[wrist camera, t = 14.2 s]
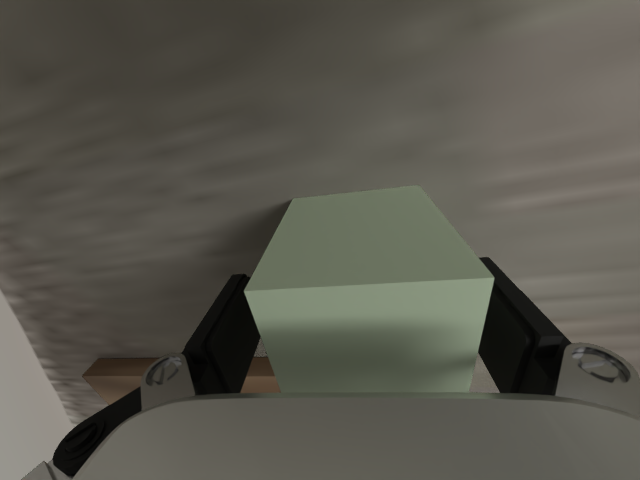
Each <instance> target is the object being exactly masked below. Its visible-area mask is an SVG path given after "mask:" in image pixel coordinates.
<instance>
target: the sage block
mask: <svg viewBox="0 0 640 480" xmlns="http://www.w3.org/2000/svg"><path fill="white" fill-rule="evenodd" d="M494 278H495V277H494V276H493V275H492V274H491V272H490V271H489V270H488V269H487V268H486V266H485V265H484V264H483V263H482V261H481V260H480V259H479V258H478V257H477V255H476V254H475V253H474V252H473V250H472V249H471V248H470V247H469V246H468V244H467V243H466V242H465V241H464V239H463V238H462V237H461V236H460V235H459V233H458V232H457V231H456V230H455V228H454V227H453V226H452V225H451V224H450V222H449V221H448V220H447V219H446V217H445V216H444V215H443V214H442V213H441V211H440V210H439V209H438V208H437V206H436V205H435V204H434V203H433V202H432V200H431V199H430V198H429V197H428V195H427V194H426V193H425V192H424V191H423V189H422V188H421V187H420V186H419V185H414V186H405V187H396V188H387V189H377V190H368V191H359V192H350V193H341V194H331V195H322V196H313V197H304V198H295V199H293V200H292V202H291V203H290V205H289V207H288V209H287V211H286V213H285V215H284V217H283V218H282V220H281V222H280V224H279V226H278V228H277V230H276V232H275V233H274V235H273V237H272V239H271V241H270V243H269V245H268V247H267V249H266V250H265V252H264V254H263V256H262V258H261V260H260V262H259V264H258V265H257V267H256V269H255V271H254V273H253V275H252V277H251V279H250V280H249V282H248V284H247V286H246V288H245V290H244V293H245V296H246V298H247V301H248V304H249V307H250V309H251V312H252V315H253V317H254V320H255V323H256V326H257V328H258V331H259V334H260V336H261V339H262V342H263V345H264V347H265V350H266V353H267V355H268V358H269V361H270V364H271V366H272V369H273V372H274V374H275V377H276V380H277V383H278V385H279V388H280V391H281V393H299V392H469V389H470V385H471V380H472V376H473V371H474V367H475V362H476V358H477V354H478V349H479V345H480V340H481V336H482V331H483V327H484V323H485V318H486V314H487V309H488V305H489V300H490V296H491V292H492V287H493V283H494Z"/></svg>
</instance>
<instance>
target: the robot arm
mask: <svg viewBox="0 0 640 480" xmlns="http://www.w3.org/2000/svg"><path fill="white" fill-rule="evenodd" d="M479 259H480V260H481V261H482V263H483V264H484V265H485V266H486V268H487V269H488V270H489V271H490V272H491V274H492V275H493V276H494V277H495V278H494V283H493V287H492V292H491V296H490V300H489V305H488V309H487V314H486V318H485V323H484V327H483V331H482V336H481V340H480V345H479V349H478V353H479V355H480V356H481V358H482V360H483V362H484V364H485V366H486V367H487V369H488V371H489V373H490V375H491V377H492V378H493V380H494V382H495V384H496V386H497V388H498V389H499V391H500V393H473V392H299V393H240V392H241V390H242V387H243V384H244V381H245V379H246V376H247V373H248V370H249V367H250V365H251V362H252V359H253V356H254V353H255V351H256V348H257V345H258V342H259V340H260V337H261V336H260V334H259V331H258V328H257V326H256V323H255V320H254V317H253V315H252V312H251V309H250V307H249V304H248V301H247V298H246V296H245V293H244V290H245V288H246V286H247V284H248V282H249V280H250V279H251V278H250V277H247V275H246V274H237V275H232V276H231V277H230V279H229V280H228V282H227V283H226V285H225V286H224V288H223V289H222V291H221V292H220V294H219V295H218V297H217V298H216V300H215V302H214V303H213V305H212V306H211V308H210V309H209V311H208V312H207V314H206V315H205V317H204V318H203V320H202V321H201V323H200V324H199V326H198V327H197V329H196V330H195V332H194V333H193V335H192V337H191V338H190V340H189V341H188V343H187V344H186V346H185V349H184V350H183V352H182V353H171V354H168V355H165V356H163V357H161V358H159V359H158V360H156V361H155V362H154V363H152V364H151V365H150V366H149V367H148V368H147V370H146V371H145V372H144V374H143V376H142V378H141V383H140V385H141V386H140V387H138V388H137V389H135V390H133V391H132V392H130V393H128V394H127V395H125V396H124V397H122V398H120V399H119V400H117V401H115V402H114V403H112V404H110V405H109V406H107V407H106V408H104V409H102V410H101V411H99V412H97V413H96V414H94V415H93V416H91V417H89V418H88V419H86V420H84V421H83V422H82V423H80V424H79V425H77V426H76V427H75V428H74V429H72V430H71V431H70V432H69V433H68V434H67V435H66V436H65V438H64V439H63V440H62V441H61V442H60V444H59V445H58V447H57V449H56V450H55V453H54V456H53V459H52V460H51V461H50V462H49V463H46V462H45V461H43V462H42V463H40V464H39V465H38V466H37V467H36V468H34V469H33V470H32V471H31V472H30V473H28V474H27V475H26V476H25V477H23V478H22V479H21V480H640V378H639V375H638V372H637V371H636V370H635V369H634V368H633V366H632V365H631V364H630V363H628V362H627V361H626V360H625V359H624V358H622V357H620V356H619V355H617V354H615V353H614V352H612V351H610V350H607V349H605V348H603V347H600V346H597V345H593V344H589V343H581V342H580V343H571V342H570V341H569V340H568V339H567V338H566V337H565V336H564V335H563V334H562V333H561V332H560V331H559V330H558V329H557V327H556V326H555V325H554V324H553V323H552V322H551V321H550V320H549V319H548V318H547V317H546V316H545V315H544V314H543V313H542V312H541V311H540V310H539V309H538V308H537V307H536V306H535V304H534V303H533V302H532V301H531V300H530V299H529V298H528V297H527V296H526V295H525V294H524V293H523V292H522V291H521V290H519V288H518V287H517V286H516V285H515V284H514V283H513V282H512V281H511V280H510V279H509V278H508V277H507V276H506V275H505V274H504V273H503V272H502V271H501V270H500V269H499V267H498V266H497V265H496V264H495V263H494V262H493V261H492V260H491V259H490V258H488V257H483V258H479Z"/></svg>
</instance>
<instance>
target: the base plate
mask: <svg viewBox="0 0 640 480" xmlns="http://www.w3.org/2000/svg"><path fill="white" fill-rule="evenodd" d="M158 359H159V358H136V359H97V361H96V362H95V363H94V364H93V365H92V366H91V367H90V368H89V369H88V370H87V371H86V372H85V373H84V374H83V375H82V377H83V378H84V379H85V380H86V381H87V382H88V383H89V384H90V385H91V386H92V387H93V389H94V390H95V391H96V392H97V393H98V394H99V395H100V396H101V397H102V398H103V399H104V400H105V401H106V402H107V403H108V404H109V405H110V404H112V403H114V402H115V401H117V400H119V399H120V398H122V397H124V396H125V395H127V394H128V393H130V392H132V391H133V390H135V389H137V388H138V387H140V386H141V385H140V383H141V378H142V376H143V374H144V372H145V371H146V370H147V368H148V367H149V366H150V365H151V364H152V363H154V362H155V361H156V360H158ZM240 393H281V391H280V388H279V385H278V383H277V380H276V377H275V374H274V372H273V369H272V366H271V364H270V361H269V358H268V357H253V359H252V362H251V365H250V367H249V370H248V373H247V376H246V379H245V381H244V384H243V387H242V390H241V392H240Z"/></svg>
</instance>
